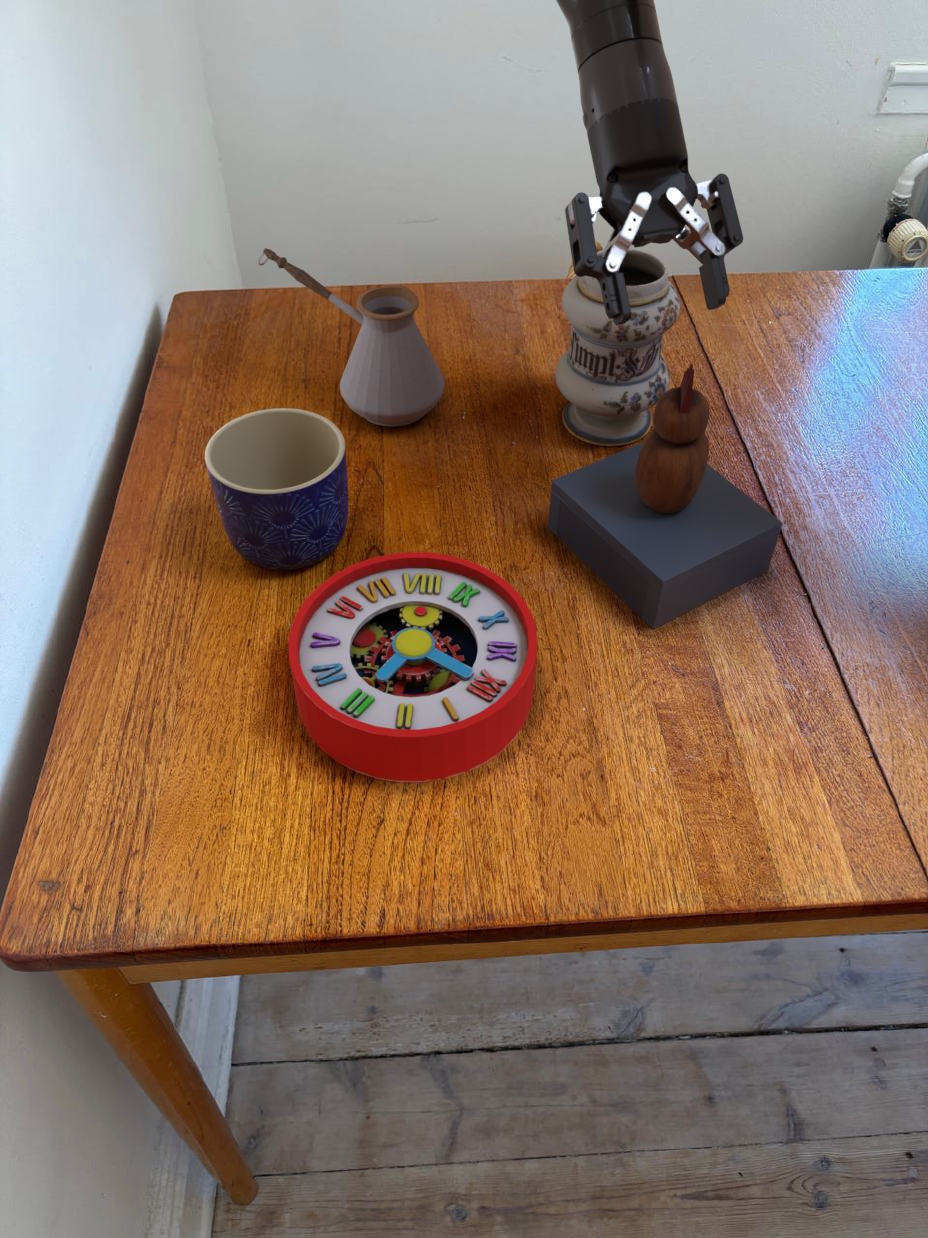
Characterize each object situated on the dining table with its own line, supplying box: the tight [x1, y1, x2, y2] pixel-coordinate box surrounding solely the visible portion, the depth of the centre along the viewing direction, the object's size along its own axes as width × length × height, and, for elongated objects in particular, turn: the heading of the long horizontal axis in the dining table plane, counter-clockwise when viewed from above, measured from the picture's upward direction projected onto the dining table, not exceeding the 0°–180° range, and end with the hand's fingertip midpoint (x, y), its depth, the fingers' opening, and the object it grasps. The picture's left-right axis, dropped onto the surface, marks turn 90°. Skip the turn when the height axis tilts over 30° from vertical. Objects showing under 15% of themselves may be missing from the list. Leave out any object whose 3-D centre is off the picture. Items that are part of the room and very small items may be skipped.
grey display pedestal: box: [547, 441, 783, 630], centre depth 95 cm, size 14×16×6 cm
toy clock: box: [287, 551, 538, 783], centre depth 83 cm, size 20×6×20 cm
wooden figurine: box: [635, 363, 711, 513], centre depth 87 cm, size 7×6×15 cm
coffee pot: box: [257, 248, 446, 428], centre depth 109 cm, size 21×12×15 cm, turn 62°
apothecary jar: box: [554, 247, 681, 447], centre depth 105 cm, size 12×12×18 cm
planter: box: [204, 407, 349, 571], centre depth 94 cm, size 12×12×11 cm
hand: (670, 314), depth 83 cm, fingers open, 8 cm apart
